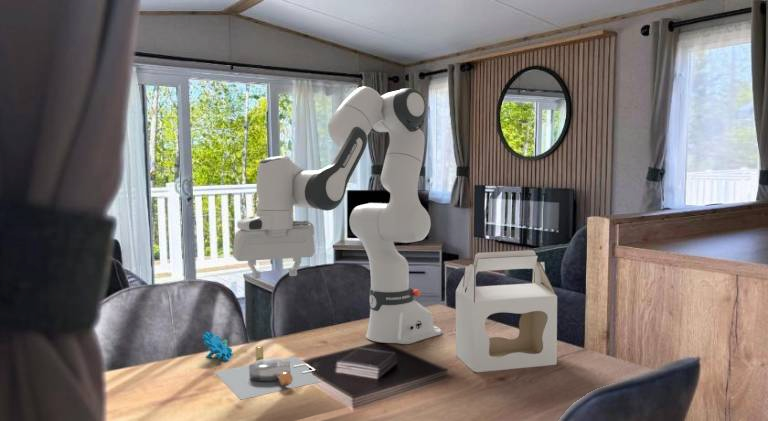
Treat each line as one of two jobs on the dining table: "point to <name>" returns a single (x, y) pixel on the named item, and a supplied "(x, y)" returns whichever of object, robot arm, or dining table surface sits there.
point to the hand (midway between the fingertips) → (275, 277)
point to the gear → (217, 346)
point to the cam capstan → (270, 369)
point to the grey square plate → (249, 388)
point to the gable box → (524, 299)
